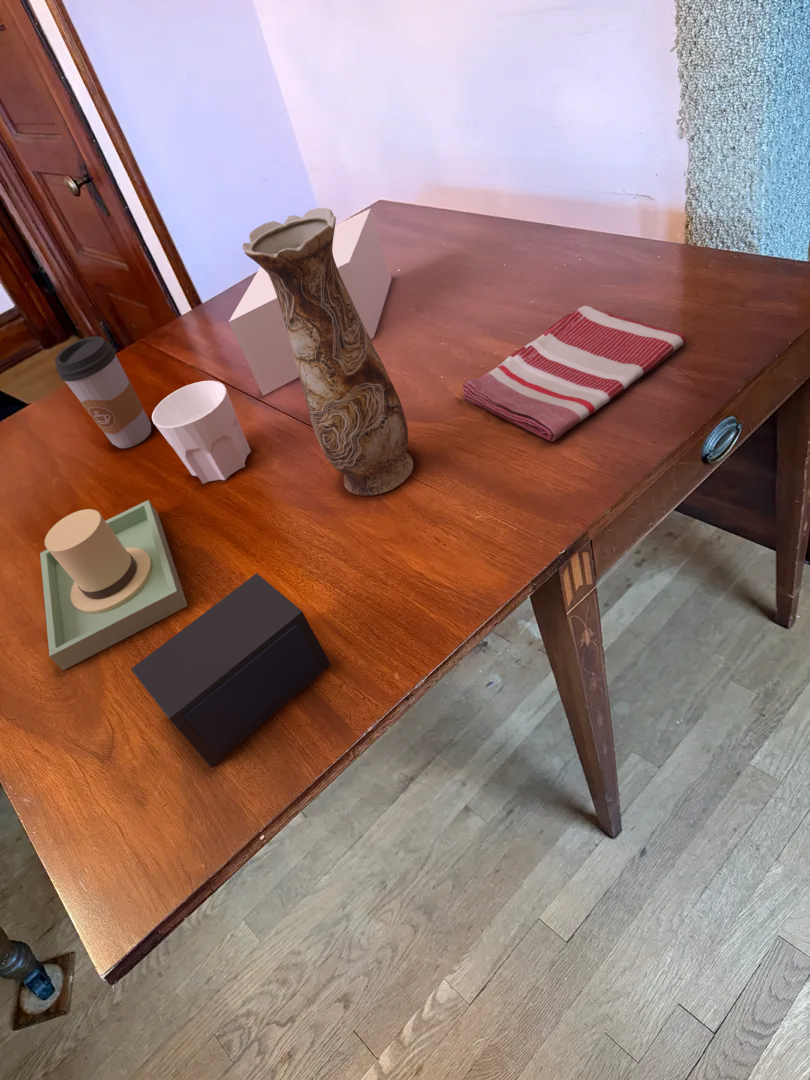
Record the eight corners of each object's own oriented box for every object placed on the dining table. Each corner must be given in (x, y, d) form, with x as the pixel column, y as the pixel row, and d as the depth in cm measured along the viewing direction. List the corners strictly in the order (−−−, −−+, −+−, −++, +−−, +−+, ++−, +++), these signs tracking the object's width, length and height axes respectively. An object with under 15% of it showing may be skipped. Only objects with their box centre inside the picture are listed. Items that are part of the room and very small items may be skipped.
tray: (187, 606, 82) (176, 590, 81) (63, 670, 80) (49, 656, 78) (158, 514, 97) (148, 499, 95) (51, 566, 94) (39, 552, 93)
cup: (269, 455, 100) (239, 393, 93) (207, 497, 96) (172, 436, 90) (234, 432, 106) (204, 373, 100) (175, 471, 103) (140, 412, 96)
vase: (343, 511, 87) (238, 268, 67) (331, 460, 95) (235, 230, 75) (427, 481, 87) (347, 229, 67) (409, 433, 95) (332, 195, 75)
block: (224, 389, 117) (188, 317, 108) (353, 277, 134) (330, 209, 126) (305, 403, 107) (272, 326, 99) (432, 281, 125) (414, 207, 116)
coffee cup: (97, 455, 112) (39, 370, 102) (124, 421, 118) (71, 337, 108) (143, 451, 109) (88, 363, 99) (168, 417, 115) (118, 330, 105)
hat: (135, 609, 83) (94, 556, 78) (59, 618, 86) (14, 567, 80) (163, 545, 90) (127, 493, 85) (92, 556, 93) (53, 505, 87)
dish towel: (461, 401, 97) (456, 384, 95) (587, 315, 104) (585, 298, 102) (554, 447, 85) (551, 428, 83) (689, 347, 92) (689, 327, 90)
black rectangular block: (212, 769, 66) (170, 720, 61) (172, 717, 71) (130, 668, 66) (333, 666, 71) (303, 612, 65) (287, 625, 76) (256, 572, 71)
